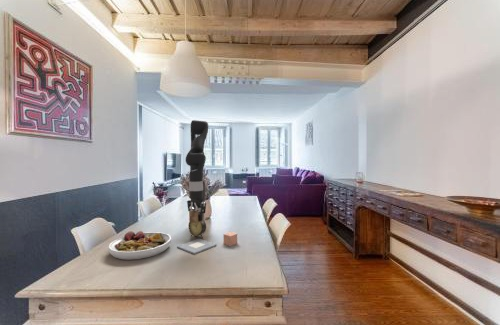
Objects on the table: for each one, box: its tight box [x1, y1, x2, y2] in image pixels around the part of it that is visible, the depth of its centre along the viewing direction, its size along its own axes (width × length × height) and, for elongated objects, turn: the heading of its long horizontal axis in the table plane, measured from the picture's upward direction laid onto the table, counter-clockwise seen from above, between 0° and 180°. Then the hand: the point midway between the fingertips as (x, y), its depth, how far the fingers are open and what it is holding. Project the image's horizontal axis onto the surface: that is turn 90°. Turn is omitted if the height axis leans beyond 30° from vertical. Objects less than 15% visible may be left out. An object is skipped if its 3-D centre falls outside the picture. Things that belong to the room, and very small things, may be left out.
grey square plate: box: [176, 238, 217, 255], centre depth 131 cm, size 15×15×1 cm
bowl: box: [108, 230, 172, 261], centre depth 128 cm, size 30×30×8 cm
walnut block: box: [188, 210, 204, 223], centre depth 131 cm, size 6×6×6 cm
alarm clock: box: [188, 220, 207, 239], centre depth 148 cm, size 11×5×16 cm, turn 62°
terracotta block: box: [223, 231, 238, 247], centre depth 136 cm, size 6×6×6 cm
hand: (196, 220), depth 131 cm, fingers closed on walnut block, 5 cm apart
